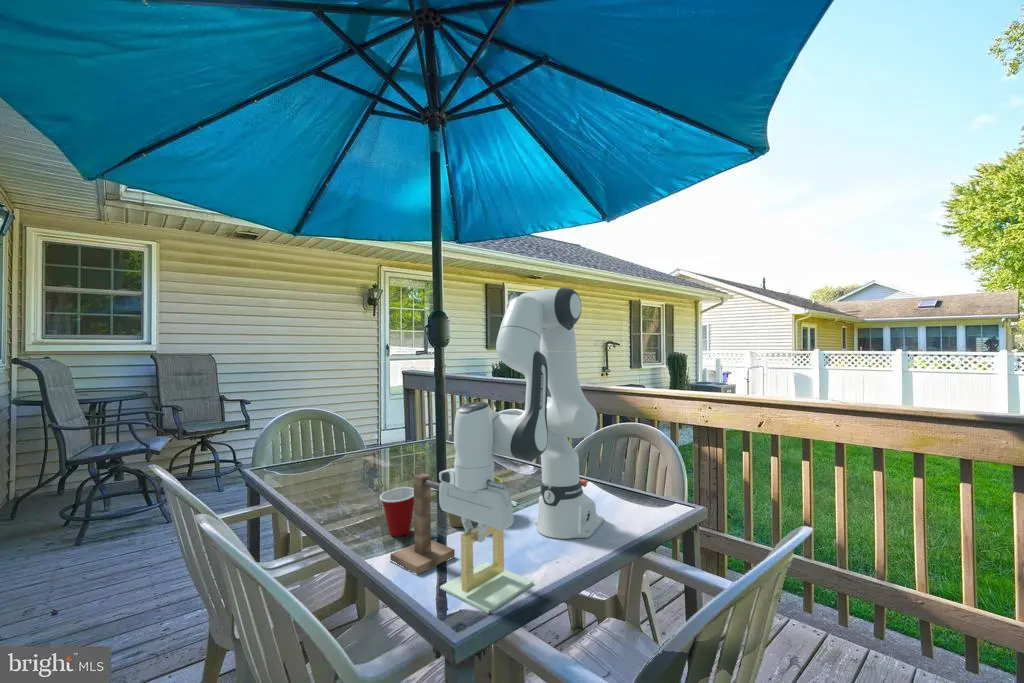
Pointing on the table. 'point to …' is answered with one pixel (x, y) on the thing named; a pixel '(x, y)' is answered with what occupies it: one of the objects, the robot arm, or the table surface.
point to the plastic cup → (398, 509)
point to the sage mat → (489, 589)
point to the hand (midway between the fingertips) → (475, 539)
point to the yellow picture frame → (467, 559)
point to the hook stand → (422, 533)
